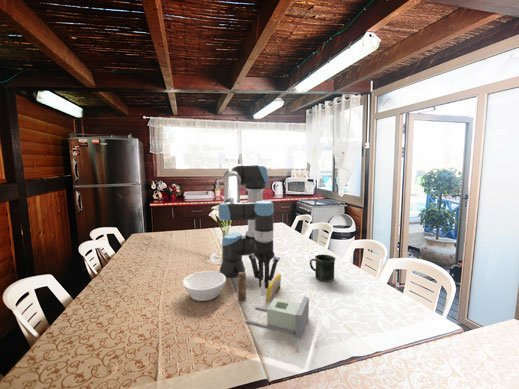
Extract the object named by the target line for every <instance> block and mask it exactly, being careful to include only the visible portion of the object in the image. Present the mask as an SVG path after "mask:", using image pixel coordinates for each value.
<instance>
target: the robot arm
mask: <svg viewBox="0 0 519 389" xmlns="http://www.w3.org/2000/svg"><path fill="white" fill-rule="evenodd" d="M268 175H269V174H268V170H267V167H266V165H265V164H257V163H256V164H254V163H253V164H236V165H233V166H231V167H229V168H228V169H227V170H226V171H225V172H224V174H223V178H222V182H223V185H224V190H223V191H224V192H223V193H224V194H223V195H224V196H223V202H221V203H219V204H218V220H220V221H227V222H230V221H247V231H246V232H245V235H243V234H242V233H240V232H231V233H228V234H226V235H224V236H222V238H221V239H222V241H221V248H222V249H221V251H222V261H221V263H220V264H221V265H220V266H219V273H222V274H224V275H225V277H226V278H230V279H231V278H238V273H239V272H245V273H246V268H245V265H244V264H245V263H244V261H243V256H248V259H249V261H250V264H251V268H252V272H253V275H254V276H253V277H254V279H257V280H258V287H259V288H260V297H264V298H266V294H267V288H268V287H269V283H270V282H271V281H272V280H273V279H274V278H275V272H276V269H277V265H278V262H279V261H280V260H281V258H280V257H279V256H278V257H277V256H276V255H275V252H274V215H275V214H274V213H275V209H274V202H273V201H271V200H263V195H264V194H263V193H264V190H265V189H266V186H268V185H269V177H268ZM240 186H244V189H245V190H246V191H247V202H241V192H240V191H241V190H240ZM271 260H272V265H271V269H270V262H271Z"/></svg>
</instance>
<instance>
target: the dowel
mask: <svg viewBox="0 0 519 389" xmlns="http://www.w3.org/2000/svg"><path fill="white" fill-rule="evenodd" d="M246 274H247V273H246V271H245V272H239V273H238V277H237V298H238V301H240V302H244V301H246V299H247V292H246V291H247V284H246V283H247V281H246V280H247V278H246V276H247V275H246Z"/></svg>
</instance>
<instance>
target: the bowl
mask: <svg viewBox="0 0 519 389" xmlns="http://www.w3.org/2000/svg"><path fill="white" fill-rule="evenodd" d="M226 281H227V277H225V275H224V274H222V273H220V271H215V270H214V271H213V270H203V271H197V272H194V273H191V274H189V275H187V276H186V277H184V279H183V280H182V285H183V287H184V289H185V291H186V292H188V293H189V295H190V297H191V299H193V300H194V301H198V302H199V301H201V302H204V301H205V302H206V301H211V300H213V299H216V298H217V297H218V296H219V294H220V291H221V290H222V289H223V288H224V285H225V284H226Z"/></svg>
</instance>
